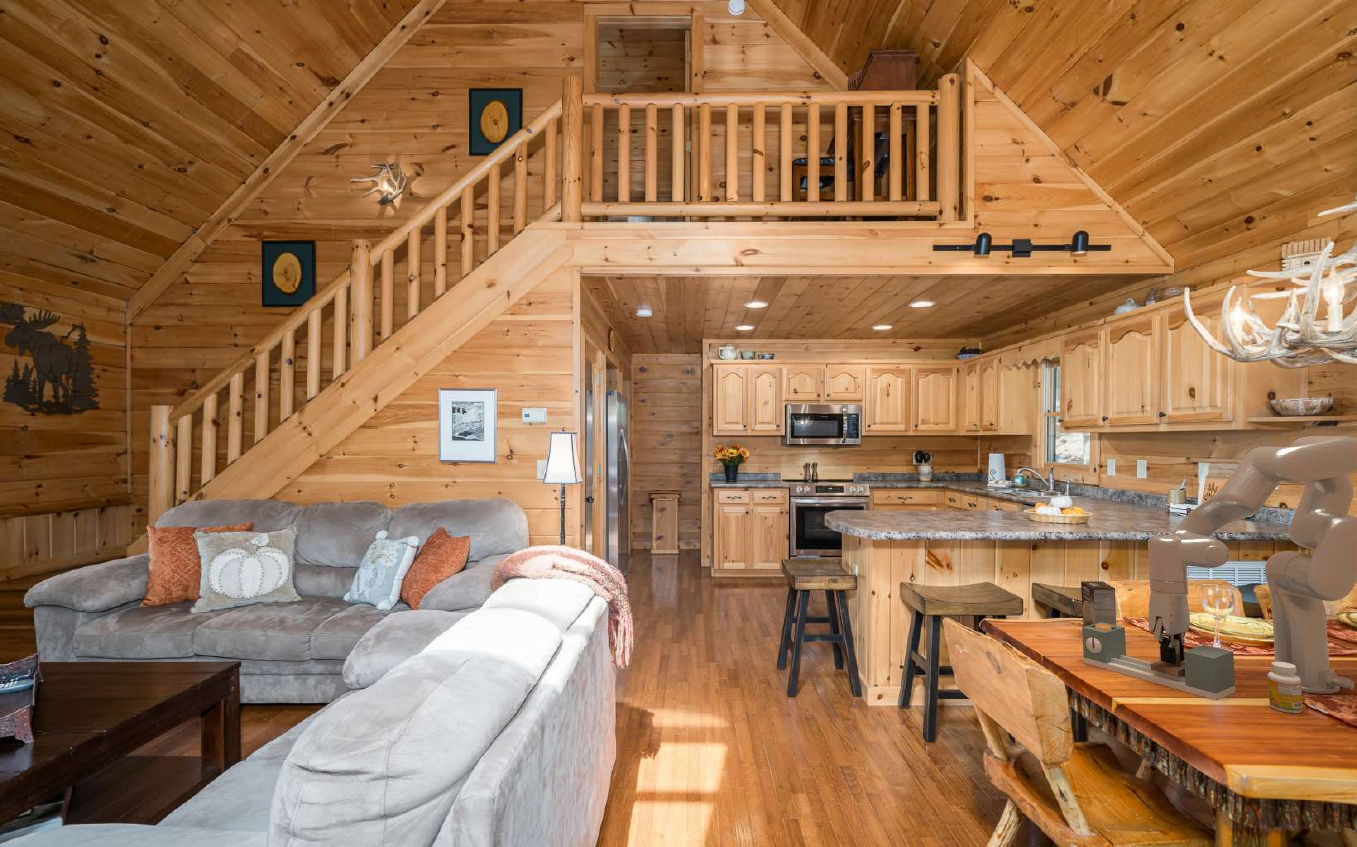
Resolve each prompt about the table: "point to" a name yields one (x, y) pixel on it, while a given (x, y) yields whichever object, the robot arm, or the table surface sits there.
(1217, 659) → the near cabinet
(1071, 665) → the table surface
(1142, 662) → the rail track
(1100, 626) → the button
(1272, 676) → the supplement bottle
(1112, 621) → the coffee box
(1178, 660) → the carriage
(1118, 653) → the far cabinet
